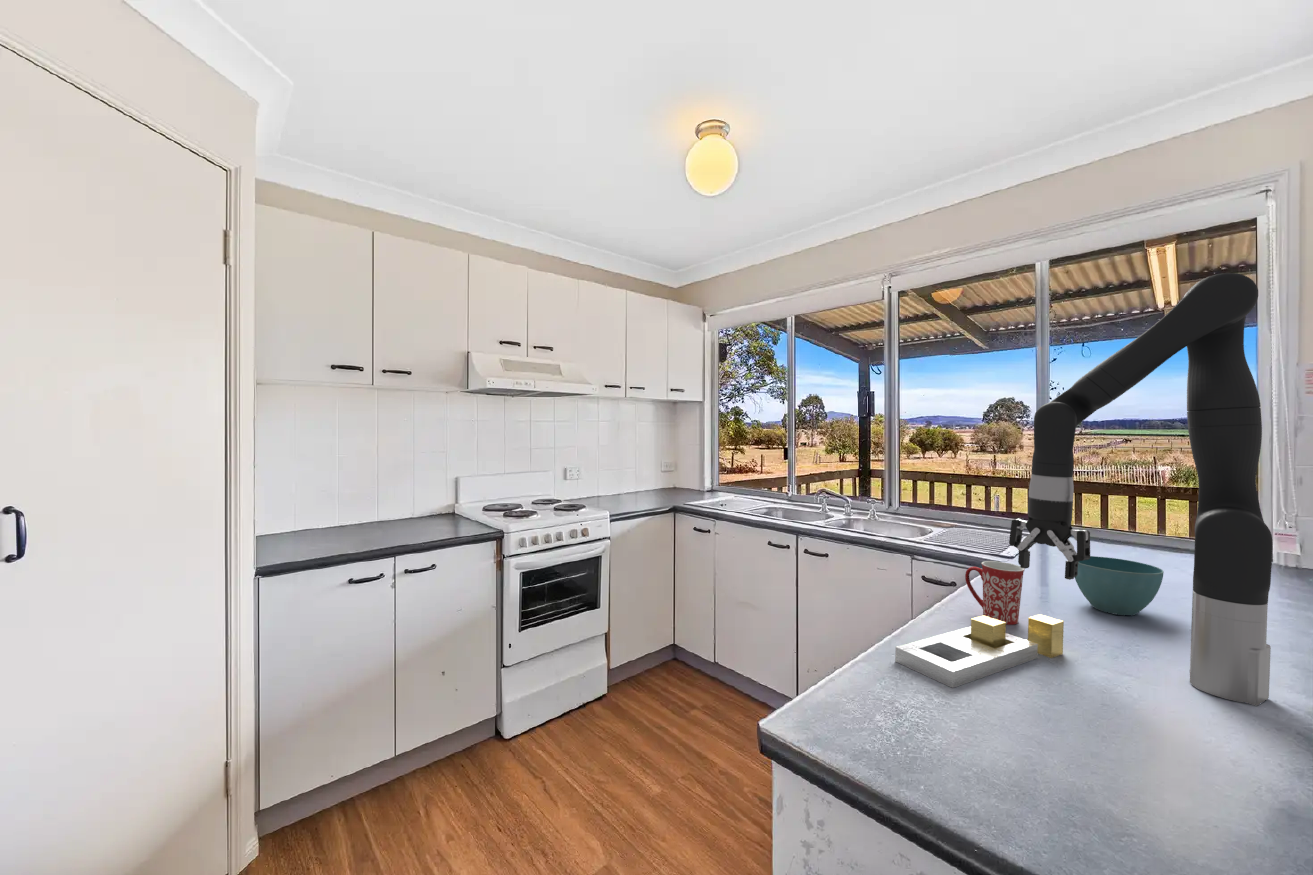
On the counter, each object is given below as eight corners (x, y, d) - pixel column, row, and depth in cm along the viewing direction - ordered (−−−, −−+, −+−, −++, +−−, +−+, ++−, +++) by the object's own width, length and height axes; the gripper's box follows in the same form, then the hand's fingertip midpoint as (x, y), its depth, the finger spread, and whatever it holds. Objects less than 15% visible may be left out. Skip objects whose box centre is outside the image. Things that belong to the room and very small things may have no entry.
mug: (1028, 620, 130) (1029, 566, 130) (1016, 629, 124) (1017, 572, 124) (972, 606, 140) (973, 556, 139) (958, 614, 134) (959, 561, 134)
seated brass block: (1004, 655, 110) (1005, 622, 110) (992, 660, 108) (993, 625, 107) (982, 647, 114) (983, 615, 113) (970, 651, 112) (971, 618, 111)
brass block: (1062, 654, 111) (1063, 621, 111) (1051, 658, 109) (1052, 624, 109) (1039, 646, 115) (1039, 614, 115) (1027, 650, 113) (1028, 617, 113)
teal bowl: (1070, 594, 151) (1072, 552, 151) (1158, 609, 140) (1159, 563, 140) (1069, 611, 137) (1070, 564, 137) (1165, 629, 126) (1167, 577, 126)
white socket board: (978, 637, 119) (979, 624, 119) (1037, 658, 109) (1037, 643, 108) (895, 661, 106) (895, 646, 106) (952, 688, 95) (953, 671, 95)
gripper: (1100, 501, 107) (1095, 580, 107) (1024, 491, 119) (1020, 562, 120) (1080, 503, 103) (1075, 585, 104) (1004, 493, 116) (1000, 566, 116)
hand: (1046, 573), depth 112 cm, fingers open, 8 cm apart
